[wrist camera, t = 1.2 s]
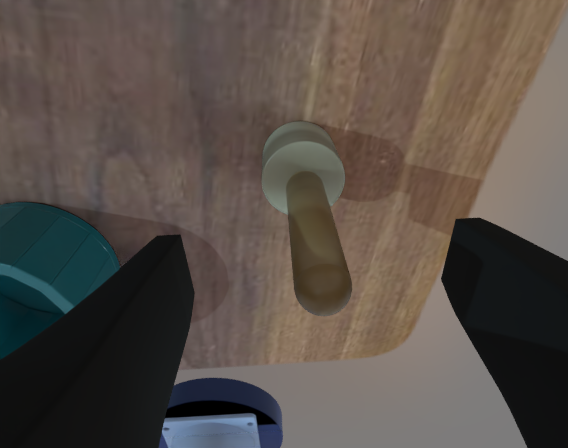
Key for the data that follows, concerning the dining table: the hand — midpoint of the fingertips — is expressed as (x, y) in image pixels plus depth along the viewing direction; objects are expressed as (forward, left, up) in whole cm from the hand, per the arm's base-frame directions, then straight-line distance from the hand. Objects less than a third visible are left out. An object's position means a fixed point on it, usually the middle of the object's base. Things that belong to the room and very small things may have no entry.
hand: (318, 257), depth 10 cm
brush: (0, 0, -7) cm, 7 cm away
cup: (-5, +13, -7) cm, 16 cm away
